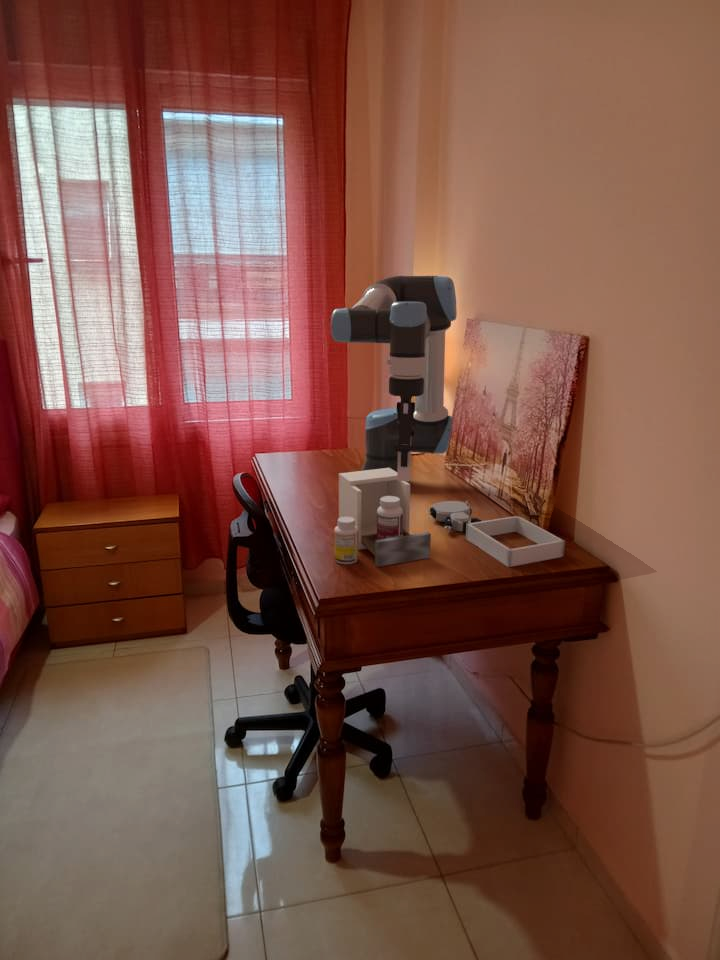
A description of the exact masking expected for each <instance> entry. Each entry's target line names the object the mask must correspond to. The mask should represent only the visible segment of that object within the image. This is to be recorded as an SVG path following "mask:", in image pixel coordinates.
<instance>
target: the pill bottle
mask: <svg viewBox="0 0 720 960" xmlns="http://www.w3.org/2000/svg"><path fill="white" fill-rule="evenodd" d="M380 505H381V506H380V507H379V508H378V509H377V540H382V539H388V538H394V537H400V536H403V510H402V508H401V507H400V506H399V505H400V499H399V498H398V497H395V496H384V497H382V498H380Z"/></svg>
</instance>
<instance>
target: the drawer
mask: <svg viewBox="0 0 720 960" xmlns="http://www.w3.org/2000/svg"><path fill="white" fill-rule="evenodd" d="M431 535H432V534H431V533H430V532H429V531H428V532H427V531H426V532H421V533H415V534H414V533H413V534H410V532H409V533H407V532H406V531H405V530H403V536H400V537H394V538H388V539H382V540H377V534H370V535H364V536H362V544H363V545H364V546H365V547H366V549H367V550H368V551H369V552H371V553H372V554H373V555H374V565H375V566H376V568H378V567H385V566H390V565H395V564H399V563H400V564H401V563H407V562H412V561H418V560H424V559H430V558H431V541H432V540H431V539H432V538H431V537H432V536H431Z"/></svg>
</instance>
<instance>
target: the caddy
mask: <svg viewBox="0 0 720 960" xmlns="http://www.w3.org/2000/svg"><path fill="white" fill-rule="evenodd" d="M384 496H395V497H398V498H399V499H400V505H399V506H400V507H401V508H402V510H403V530H405V531H406V532H407V533H409V534H410V515H411V514H410V513H411V512H410V511H411V510H410V507H411V484H410V483H409V482H408V481H407V482H406V481H397V472H396V471H394V470H392V469H391V468H382V469H373V470H365V471H362V470H358V471H348V472H340V473H338V519H339V518H341V517H352V518H354V519H355V526H357V527H358V551H360V550H366V549H367V548H366V547H365V546H364V545H363V544H362V536H364V535H370V534H377V509H378V508H379V507H380V506H381V505H380V498H382V497H384Z"/></svg>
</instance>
